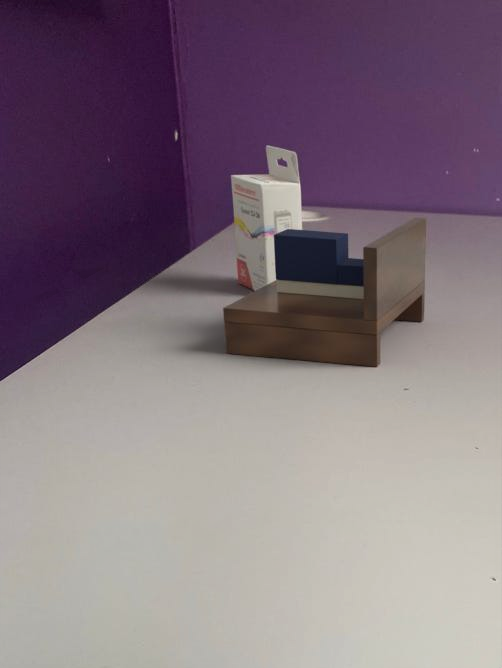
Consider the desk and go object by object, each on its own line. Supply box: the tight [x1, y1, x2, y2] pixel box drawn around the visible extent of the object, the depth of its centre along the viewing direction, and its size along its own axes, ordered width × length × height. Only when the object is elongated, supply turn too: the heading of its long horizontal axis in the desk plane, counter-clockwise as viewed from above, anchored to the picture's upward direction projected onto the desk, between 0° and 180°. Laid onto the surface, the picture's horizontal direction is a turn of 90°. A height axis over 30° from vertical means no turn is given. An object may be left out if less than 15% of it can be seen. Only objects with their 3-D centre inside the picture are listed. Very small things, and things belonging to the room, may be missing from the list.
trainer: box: [274, 229, 364, 299], centre depth 98 cm, size 9×4×5 cm, turn 81°
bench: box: [222, 217, 427, 368], centre depth 99 cm, size 14×20×10 cm
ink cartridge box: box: [230, 144, 303, 292], centre depth 116 cm, size 9×5×15 cm, turn 34°
